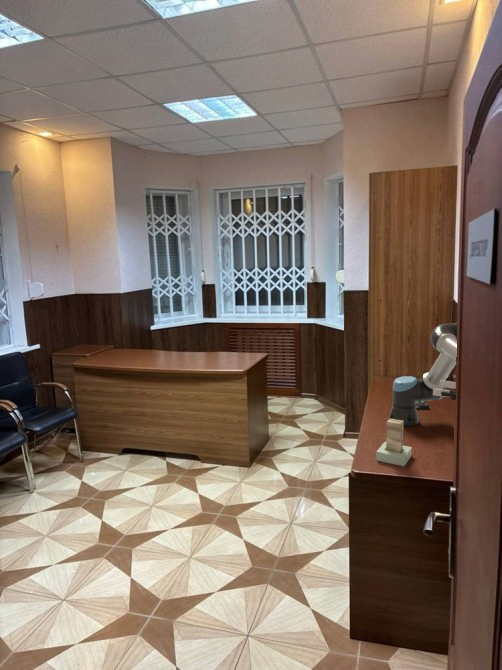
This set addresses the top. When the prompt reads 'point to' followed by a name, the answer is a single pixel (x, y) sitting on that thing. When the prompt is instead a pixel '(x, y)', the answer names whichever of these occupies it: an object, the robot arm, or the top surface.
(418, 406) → the disk drive
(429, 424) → the top surface
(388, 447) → the wooden block
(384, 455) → the end cap
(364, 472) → the top surface
